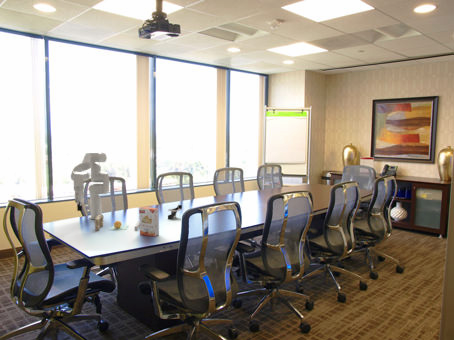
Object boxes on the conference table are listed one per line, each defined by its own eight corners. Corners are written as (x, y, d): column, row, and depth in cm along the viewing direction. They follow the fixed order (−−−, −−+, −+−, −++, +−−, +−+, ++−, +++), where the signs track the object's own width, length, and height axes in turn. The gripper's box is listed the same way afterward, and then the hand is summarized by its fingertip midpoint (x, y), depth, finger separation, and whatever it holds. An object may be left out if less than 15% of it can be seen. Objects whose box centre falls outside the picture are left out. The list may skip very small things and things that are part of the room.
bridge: (95, 230, 293) (94, 218, 292) (99, 226, 308) (99, 214, 307) (99, 230, 293) (98, 218, 292) (103, 226, 308) (103, 214, 307)
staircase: (167, 219, 334) (167, 206, 333) (174, 217, 343) (174, 204, 342) (175, 220, 330) (175, 207, 329) (182, 218, 339) (182, 205, 338)
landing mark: (112, 226, 308) (112, 225, 308) (128, 225, 309) (128, 225, 309) (109, 229, 295) (109, 229, 295) (126, 229, 296) (126, 229, 296)
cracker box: (139, 234, 280) (138, 207, 278) (144, 232, 286) (143, 206, 284) (154, 236, 274) (154, 209, 272) (159, 234, 280) (158, 207, 278)
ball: (123, 226, 304) (116, 228, 303) (120, 219, 304) (113, 222, 303) (121, 227, 298) (114, 229, 297) (119, 220, 298) (112, 223, 297)
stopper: (138, 224, 313) (138, 220, 313) (140, 224, 314) (140, 220, 313) (134, 230, 294) (134, 226, 293) (137, 230, 294) (137, 226, 293)
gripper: (80, 189, 289) (81, 212, 290) (86, 186, 304) (87, 208, 305) (71, 189, 288) (72, 212, 290) (76, 187, 303) (77, 208, 304)
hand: (79, 210), depth 297 cm, fingers closed
